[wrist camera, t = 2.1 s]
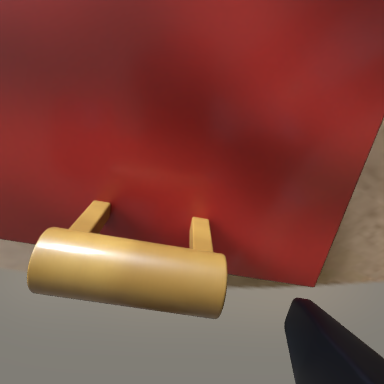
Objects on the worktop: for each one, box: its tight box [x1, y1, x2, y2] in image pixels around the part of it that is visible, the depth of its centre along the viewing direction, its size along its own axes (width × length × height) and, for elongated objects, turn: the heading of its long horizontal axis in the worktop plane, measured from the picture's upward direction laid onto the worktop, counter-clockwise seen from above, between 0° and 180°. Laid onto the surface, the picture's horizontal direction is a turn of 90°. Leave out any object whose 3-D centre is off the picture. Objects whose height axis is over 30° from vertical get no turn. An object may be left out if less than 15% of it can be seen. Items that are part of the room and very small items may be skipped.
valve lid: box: [0, 0, 384, 319], centre depth 8 cm, size 12×16×5 cm
